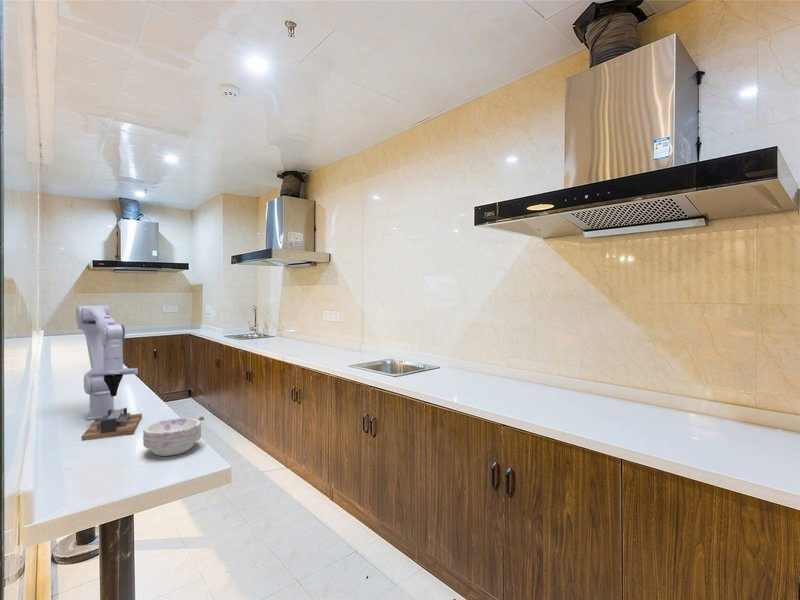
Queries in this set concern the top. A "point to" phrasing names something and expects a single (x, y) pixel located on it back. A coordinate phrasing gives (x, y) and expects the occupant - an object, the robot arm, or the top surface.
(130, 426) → the board
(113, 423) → the clamp block
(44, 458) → the top surface
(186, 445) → the paper bowls
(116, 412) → the grey flat bar
